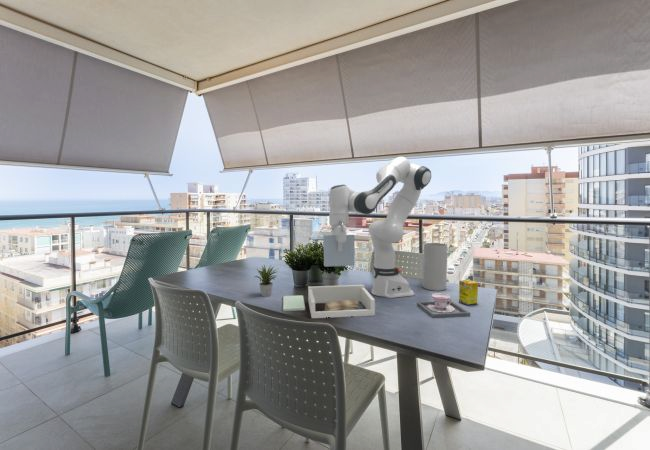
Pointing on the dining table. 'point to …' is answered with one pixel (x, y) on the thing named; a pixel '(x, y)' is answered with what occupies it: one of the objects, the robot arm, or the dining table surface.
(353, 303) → the offcut stack
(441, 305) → the teacup
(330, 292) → the white open bin
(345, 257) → the light grey square panel
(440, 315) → the coaster tray
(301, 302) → the sage board
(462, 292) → the supplement box
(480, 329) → the dining table surface
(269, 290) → the house plant
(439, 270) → the cylinder vase
